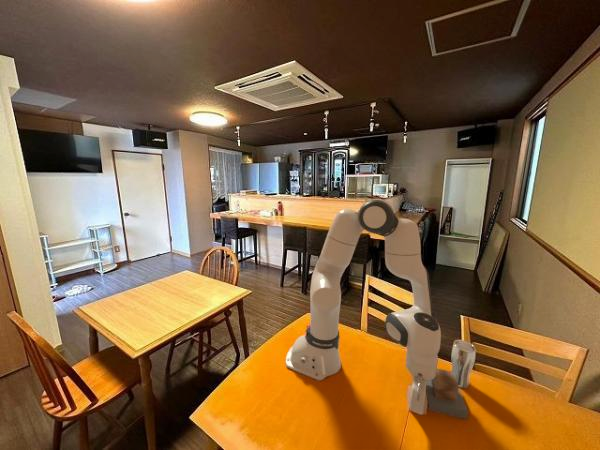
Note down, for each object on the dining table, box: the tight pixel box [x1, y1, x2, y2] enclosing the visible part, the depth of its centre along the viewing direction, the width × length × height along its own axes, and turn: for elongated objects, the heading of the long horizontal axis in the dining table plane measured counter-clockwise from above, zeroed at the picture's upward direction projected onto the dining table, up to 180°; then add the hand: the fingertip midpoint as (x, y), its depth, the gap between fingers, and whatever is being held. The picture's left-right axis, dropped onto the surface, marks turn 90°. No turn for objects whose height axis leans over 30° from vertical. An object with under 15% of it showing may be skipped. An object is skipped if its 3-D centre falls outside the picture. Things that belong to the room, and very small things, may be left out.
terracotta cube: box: [406, 384, 428, 416], centre depth 78 cm, size 5×5×5 cm
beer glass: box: [450, 339, 477, 389], centre depth 87 cm, size 7×7×15 cm
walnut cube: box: [431, 368, 460, 402], centre depth 80 cm, size 6×6×6 cm
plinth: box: [426, 379, 469, 420], centre depth 81 cm, size 11×11×3 cm
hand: (416, 400), depth 79 cm, fingers open, 6 cm apart
